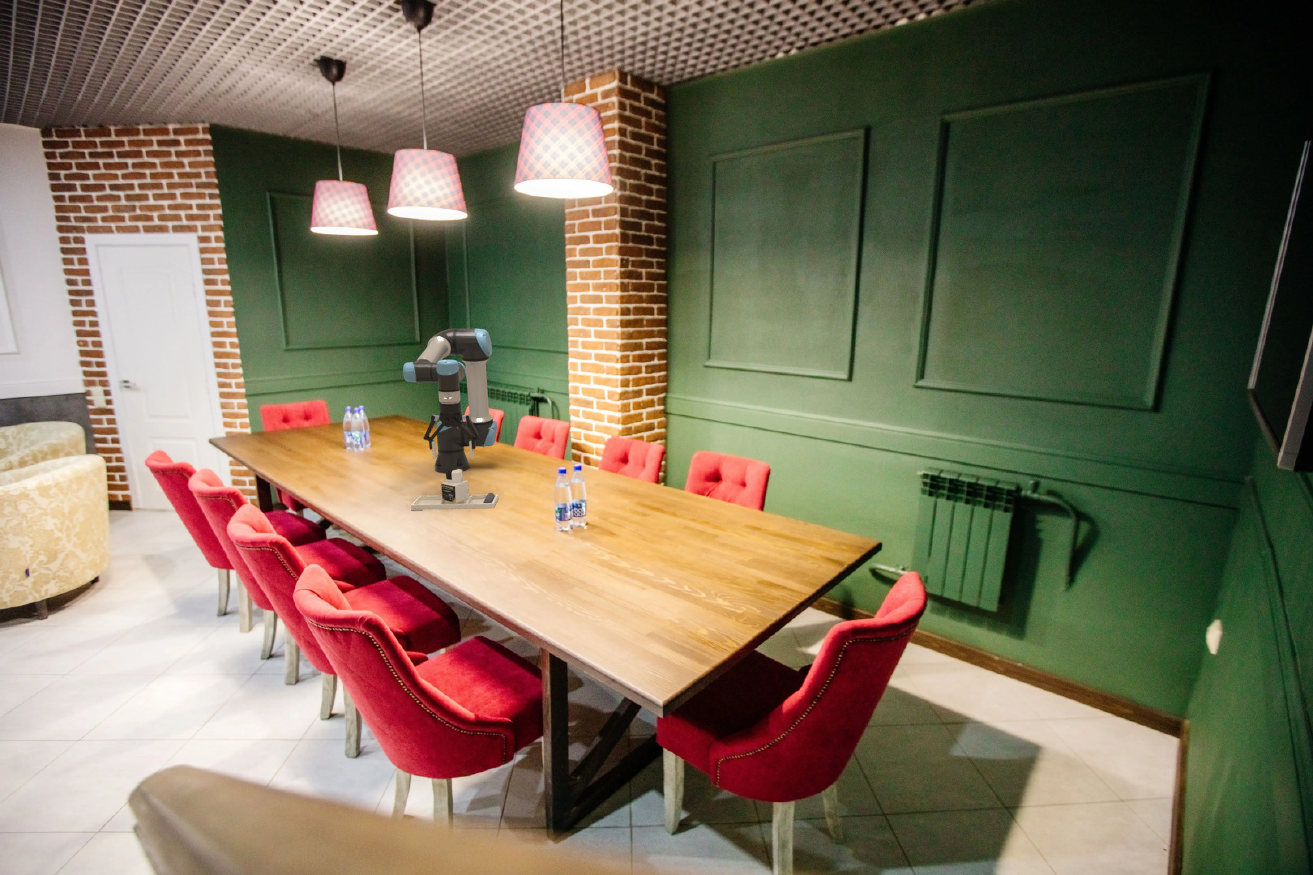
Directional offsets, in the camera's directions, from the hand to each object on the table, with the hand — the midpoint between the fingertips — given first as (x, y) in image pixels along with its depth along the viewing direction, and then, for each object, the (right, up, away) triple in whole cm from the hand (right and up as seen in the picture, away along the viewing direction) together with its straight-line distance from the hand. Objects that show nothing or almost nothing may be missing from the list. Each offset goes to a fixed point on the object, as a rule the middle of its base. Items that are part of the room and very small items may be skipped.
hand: (453, 457), depth 239 cm
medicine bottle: (0, -16, +3) cm, 17 cm away
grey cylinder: (+11, -16, +4) cm, 20 cm away
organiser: (0, -18, +4) cm, 19 cm away
